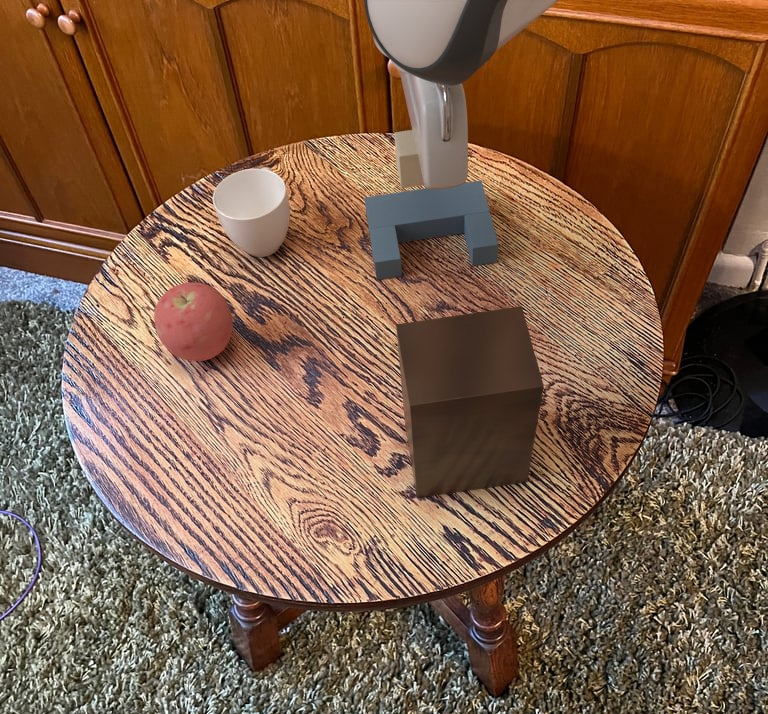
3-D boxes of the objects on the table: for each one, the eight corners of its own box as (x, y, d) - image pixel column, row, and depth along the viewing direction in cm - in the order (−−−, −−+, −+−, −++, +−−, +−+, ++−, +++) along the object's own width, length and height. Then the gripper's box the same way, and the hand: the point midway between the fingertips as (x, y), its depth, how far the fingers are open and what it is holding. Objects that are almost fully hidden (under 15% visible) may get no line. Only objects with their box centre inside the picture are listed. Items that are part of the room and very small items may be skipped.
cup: (219, 265, 85) (202, 215, 79) (246, 202, 89) (231, 151, 83) (287, 272, 83) (274, 222, 78) (310, 208, 88) (300, 156, 82)
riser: (509, 410, 73) (521, 305, 60) (527, 482, 69) (544, 386, 57) (405, 425, 73) (395, 323, 61) (416, 498, 69) (409, 405, 57)
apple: (241, 372, 77) (220, 317, 70) (168, 381, 78) (140, 327, 71) (240, 316, 81) (221, 259, 74) (171, 325, 81) (145, 268, 74)
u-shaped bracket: (480, 198, 87) (481, 180, 84) (497, 262, 82) (498, 244, 80) (366, 215, 87) (364, 197, 84) (376, 280, 82) (374, 262, 80)
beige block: (457, 155, 75) (458, 122, 72) (463, 179, 73) (464, 147, 70) (396, 164, 75) (394, 132, 72) (401, 188, 73) (399, 156, 70)
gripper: (491, 85, 56) (483, 235, 68) (446, -60, 66) (446, 93, 78) (405, 98, 56) (412, 245, 68) (372, -49, 66) (384, 102, 78)
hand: (430, 163), depth 73 cm, fingers closed on beige block, 3 cm apart
